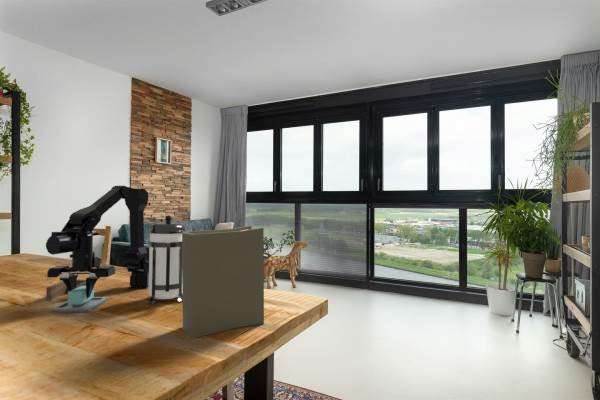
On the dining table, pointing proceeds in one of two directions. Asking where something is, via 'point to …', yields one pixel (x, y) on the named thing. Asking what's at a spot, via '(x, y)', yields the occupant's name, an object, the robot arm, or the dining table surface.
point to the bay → (61, 289)
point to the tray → (83, 307)
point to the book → (222, 279)
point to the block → (79, 296)
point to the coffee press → (165, 261)
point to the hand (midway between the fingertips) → (81, 297)
